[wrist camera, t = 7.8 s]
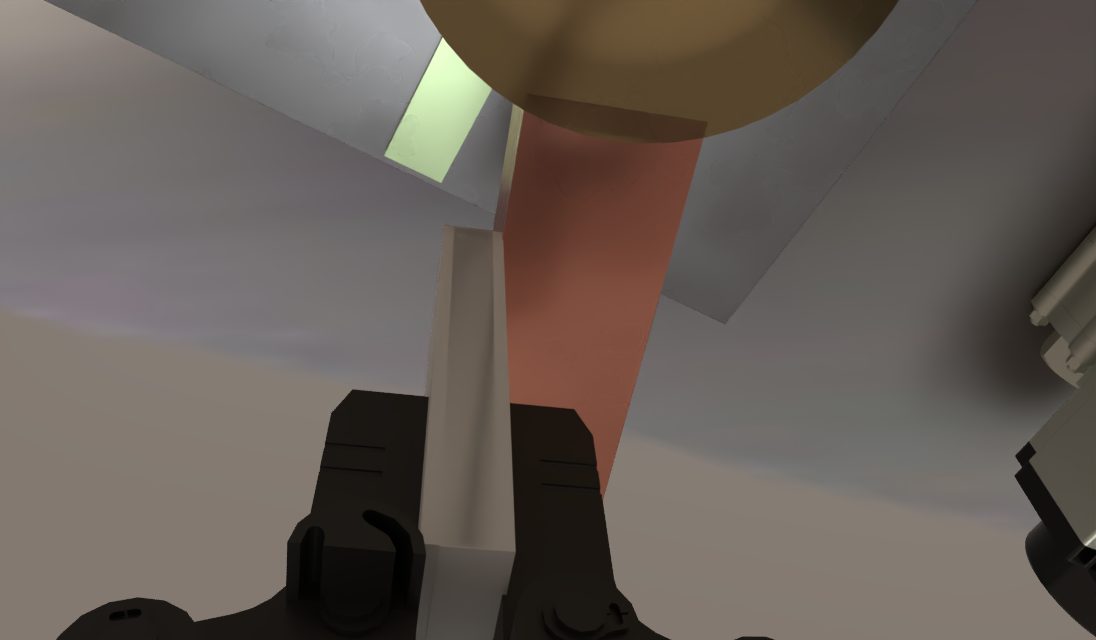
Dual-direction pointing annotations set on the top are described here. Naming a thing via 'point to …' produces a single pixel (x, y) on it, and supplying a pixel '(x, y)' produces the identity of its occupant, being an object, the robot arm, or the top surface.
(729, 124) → the scoop with pink handle
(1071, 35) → the top surface
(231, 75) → the grey plate with post
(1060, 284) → the pneumatic valve
